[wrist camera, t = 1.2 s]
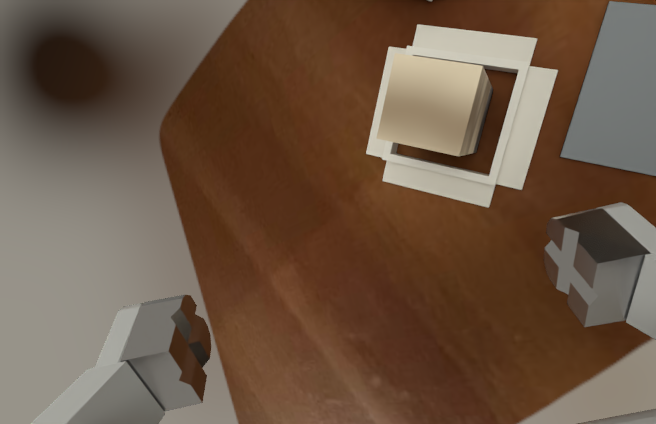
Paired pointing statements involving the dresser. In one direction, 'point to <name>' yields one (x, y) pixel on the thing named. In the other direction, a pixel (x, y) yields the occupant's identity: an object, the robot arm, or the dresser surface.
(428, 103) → the block
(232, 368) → the dresser surface
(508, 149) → the flanged square frame
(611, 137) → the slate mat
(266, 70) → the dresser surface
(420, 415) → the dresser surface
